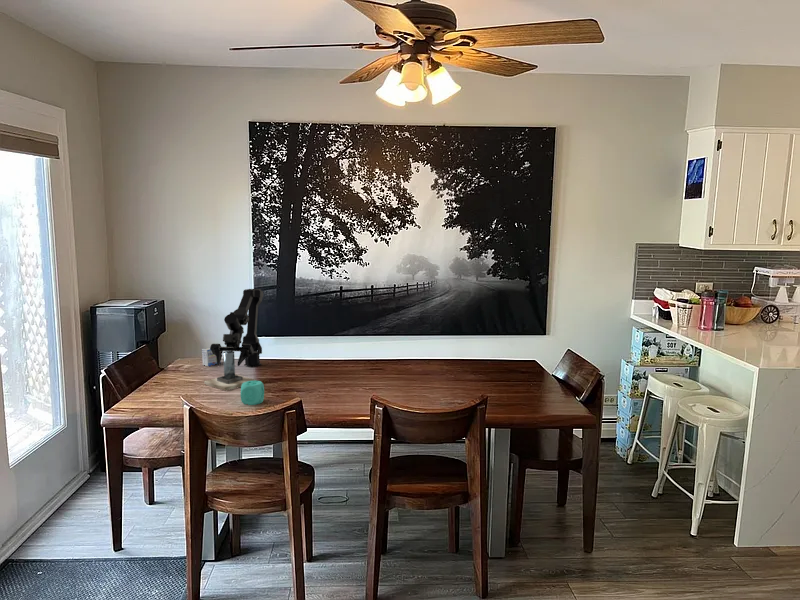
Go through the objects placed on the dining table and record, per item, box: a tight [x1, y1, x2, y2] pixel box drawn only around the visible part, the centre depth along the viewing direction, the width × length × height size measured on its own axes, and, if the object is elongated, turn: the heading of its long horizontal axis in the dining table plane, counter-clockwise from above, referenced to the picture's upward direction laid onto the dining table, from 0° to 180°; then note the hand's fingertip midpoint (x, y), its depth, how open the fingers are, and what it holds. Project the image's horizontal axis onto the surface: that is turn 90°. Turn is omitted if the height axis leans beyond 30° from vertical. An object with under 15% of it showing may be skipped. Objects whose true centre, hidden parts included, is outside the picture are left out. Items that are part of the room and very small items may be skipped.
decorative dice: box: [240, 380, 265, 406], centre depth 243 cm, size 8×8×8 cm
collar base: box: [203, 373, 256, 392], centre depth 270 cm, size 16×16×3 cm
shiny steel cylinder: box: [222, 351, 236, 380], centre depth 269 cm, size 5×5×13 cm
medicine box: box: [201, 347, 222, 367], centre depth 304 cm, size 8×4×9 cm, turn 143°
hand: (228, 365), depth 268 cm, fingers open, 9 cm apart
